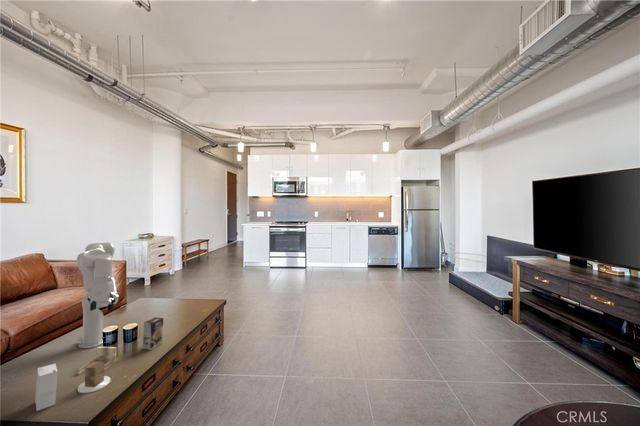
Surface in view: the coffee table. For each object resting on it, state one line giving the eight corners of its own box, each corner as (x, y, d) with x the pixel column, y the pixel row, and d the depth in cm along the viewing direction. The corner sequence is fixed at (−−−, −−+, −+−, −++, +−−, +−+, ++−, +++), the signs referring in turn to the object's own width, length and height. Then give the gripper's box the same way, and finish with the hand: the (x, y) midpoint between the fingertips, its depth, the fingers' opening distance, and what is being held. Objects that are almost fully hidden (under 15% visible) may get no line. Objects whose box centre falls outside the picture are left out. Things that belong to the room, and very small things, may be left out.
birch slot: (77, 374, 135) (77, 358, 135) (97, 361, 148) (98, 346, 148) (97, 375, 135) (98, 359, 135) (116, 361, 148) (116, 347, 148)
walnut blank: (84, 386, 125) (85, 367, 125) (93, 380, 130) (94, 361, 130) (95, 387, 125) (95, 367, 125) (103, 380, 130) (104, 362, 130)
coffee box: (151, 350, 161) (152, 323, 161) (142, 348, 162) (143, 322, 162) (163, 343, 170) (164, 317, 170) (154, 341, 171) (155, 316, 171)
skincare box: (34, 402, 115) (36, 368, 115) (54, 395, 120) (55, 362, 120) (36, 412, 110) (37, 376, 110) (56, 404, 115) (57, 369, 115)
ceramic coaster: (70, 392, 122) (70, 391, 122) (92, 376, 134) (92, 375, 134) (96, 393, 122) (96, 392, 122) (116, 377, 134) (116, 376, 134)
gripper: (81, 280, 144) (80, 312, 144) (113, 281, 144) (111, 313, 144) (93, 277, 152) (92, 307, 152) (123, 278, 152) (122, 308, 152)
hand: (101, 310), depth 148 cm, fingers open, 9 cm apart
